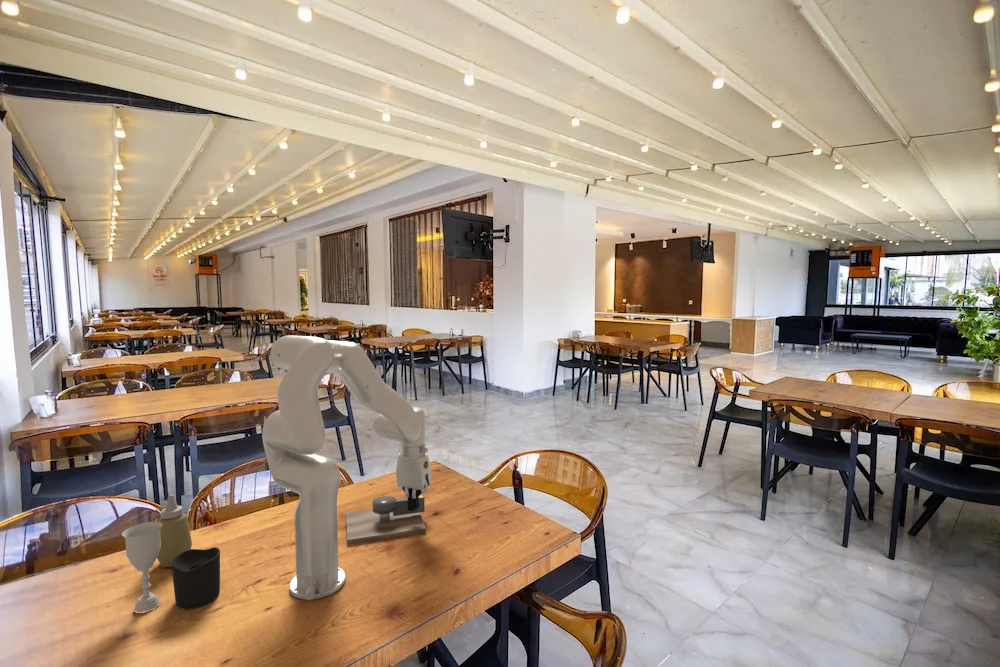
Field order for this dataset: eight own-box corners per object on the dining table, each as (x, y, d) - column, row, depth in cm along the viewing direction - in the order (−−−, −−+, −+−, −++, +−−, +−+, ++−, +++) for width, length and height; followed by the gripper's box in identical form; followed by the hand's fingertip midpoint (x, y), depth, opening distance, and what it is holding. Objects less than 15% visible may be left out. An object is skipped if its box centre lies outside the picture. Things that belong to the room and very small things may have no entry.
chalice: (161, 592, 113) (157, 518, 112) (171, 604, 109) (167, 527, 108) (122, 608, 108) (117, 530, 106) (131, 621, 103) (126, 540, 102)
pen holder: (208, 581, 118) (206, 542, 117) (230, 593, 113) (228, 552, 112) (165, 602, 110) (163, 560, 109) (187, 616, 105) (184, 572, 104)
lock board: (425, 533, 142) (425, 517, 142) (347, 545, 135) (346, 528, 135) (416, 507, 159) (416, 493, 159) (346, 517, 152) (346, 502, 152)
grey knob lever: (425, 515, 147) (425, 500, 147) (373, 522, 142) (373, 507, 142) (422, 505, 154) (422, 491, 154) (371, 512, 149) (371, 497, 149)
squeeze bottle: (198, 559, 128) (195, 493, 126) (164, 574, 121) (160, 504, 119) (183, 551, 132) (180, 486, 131) (149, 564, 125) (145, 497, 124)
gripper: (440, 449, 143) (441, 509, 145) (400, 442, 150) (401, 499, 152) (425, 457, 137) (426, 519, 138) (384, 449, 144) (385, 509, 145)
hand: (413, 509), depth 145 cm, fingers closed
